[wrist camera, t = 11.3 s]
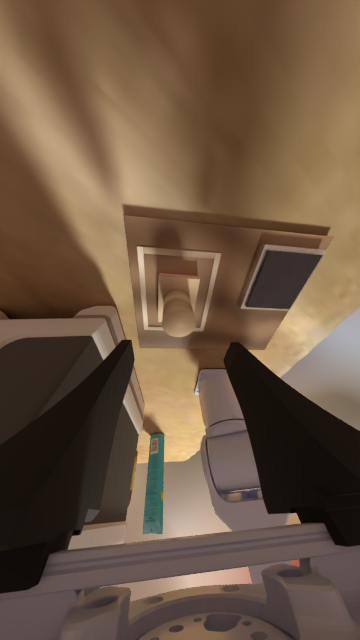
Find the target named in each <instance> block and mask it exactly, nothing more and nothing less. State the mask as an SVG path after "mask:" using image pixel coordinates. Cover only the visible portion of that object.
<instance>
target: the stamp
mask: <svg viewBox="0 0 360 640" xmlns="http://www.w3.org/2000/svg"><path fill="white" fill-rule="evenodd" d="M199 282H200V278H199V277H198V275H190V274H179V273H167V272H159V282H158V322H162V328H163V330H164V331H165V332H166V333H167V334H168V335H170V336H173V337H184V336H187V335H189V334H190V333H191V332H192V331H193V330H194V329H195V326H196V319H195V316H194V310H195V304H196V299H197V293H198V288H199Z"/></svg>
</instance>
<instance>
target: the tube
mask: <svg viewBox="0 0 360 640" xmlns="http://www.w3.org/2000/svg"><path fill="white" fill-rule="evenodd" d="M163 464H164V434H162V433H157V434H152V435H151V438H150V450H149V462H148V474H147V485H146V497H145V510H144V522H143V534H148V533H155V534H162V529H163V527H162V526H163V472H164V465H163Z"/></svg>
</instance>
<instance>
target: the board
mask: <svg viewBox="0 0 360 640" xmlns="http://www.w3.org/2000/svg"><path fill="white" fill-rule="evenodd" d="M124 222H125V230H126V238H127V247H128V255H129V263H130V271H131V280H132V288H133V296H134V304H135V313H136V321H137V329H138V337H139V346H140V348H177V349H228V348H229V346H230V343H231V342H239V343H240V344H242V345H243V346H244V347H245V348H246V349H247V350H264V349H265V348H266V346H267V345H268V343H269V341H270V340H271V338H272V336H273V335H274V333H275V332H276V330H277V328H278V327H279V325H280V324H281V322H282V320H283V319H284V317H285V315H286V314H287V312H288V311H281V310H259V309H240V308H239V306H238V302H239V299H240V297H241V294H242V291H243V288H244V286H245V283H246V280H247V277H248V275H249V272H250V269H251V266H252V263H253V261H254V258H255V255H256V252H257V250H258V247H259V244H270V245H281V246H292V247H303V248H313V249H322V250H326V249H327V248H328V246H329V244H330V243H331V241H332V239H333V238H334V237H331V236H322V235H312V234H302V233H293V232H283V231H273V230H264V229H254V228H244V227H235V226H225V225H215V224H206V223H196V222H186V221H177V220H167V219H157V218H148V217H138V216H128V215H124ZM159 272H167V273H179V274H190V275H198V277H199V278H200V282H199V288H198V293H197V299H196V304H195V310H194V316H195V319H196V326H195V329H194V330H193V331H192V332H191V333H190V334H189V335H187V336H184V337H173V336H170V335H168V334H167V333H166V332H165V331H164V330H163V328H162V322H158V282H159Z"/></svg>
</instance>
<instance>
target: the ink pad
mask: <svg viewBox="0 0 360 640" xmlns="http://www.w3.org/2000/svg"><path fill="white" fill-rule="evenodd" d="M325 252H326V250H322V249H313V248H303V247H292V246H281V245H270V244H259V247H258V250H257V252H256V255H255V258H254V261H253V263H252V266H251V269H250V272H249V275H248V277H247V280H246V283H245V286H244V288H243V291H242V294H241V297H240V299H239V302H238V306H239V308H240V309H259V310H281V311H289V310H290V308H291V307H292V305H293V304H294V302H295V300H296V299H297V297H298V295H299V294H300V292H301V291H302V289H303V287H304V286H305V284H306V283H307V281H308V279H309V278H310V276H311V275H312V273H313V271H314V270H315V268H316V267H317V265H318V263H319V262H320V260H321V258H322V257H323V255H324V254H325Z"/></svg>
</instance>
